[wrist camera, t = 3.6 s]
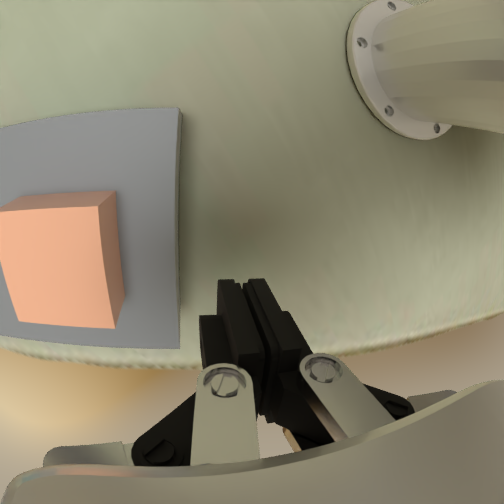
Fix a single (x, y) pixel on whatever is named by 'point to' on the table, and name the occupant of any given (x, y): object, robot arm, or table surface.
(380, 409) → the robot arm
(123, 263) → the slate bench plate
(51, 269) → the terracotta block
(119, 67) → the table surface
